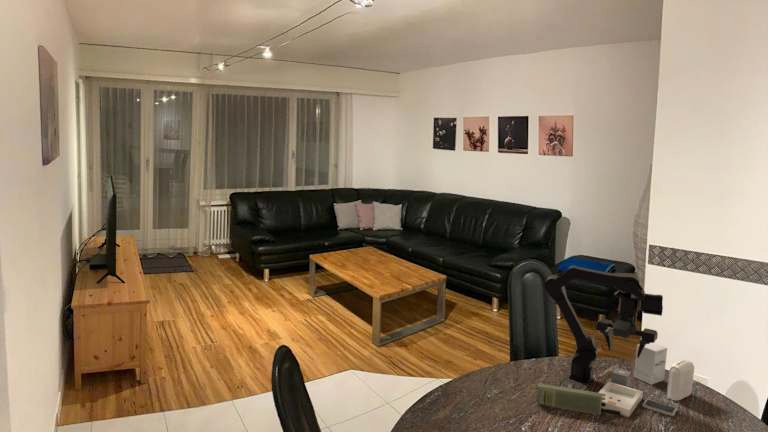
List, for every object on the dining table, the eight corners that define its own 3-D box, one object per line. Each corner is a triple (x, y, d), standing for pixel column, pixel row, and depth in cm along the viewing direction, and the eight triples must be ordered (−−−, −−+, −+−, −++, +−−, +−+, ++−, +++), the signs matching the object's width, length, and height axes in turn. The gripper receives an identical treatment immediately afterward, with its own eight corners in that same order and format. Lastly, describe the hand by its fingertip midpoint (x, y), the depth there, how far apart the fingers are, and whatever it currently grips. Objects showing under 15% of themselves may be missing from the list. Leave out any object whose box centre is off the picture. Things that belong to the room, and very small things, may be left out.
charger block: (610, 387, 180) (612, 372, 179) (615, 382, 184) (616, 367, 183) (625, 391, 177) (627, 376, 176) (629, 386, 181) (631, 371, 180)
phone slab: (673, 416, 161) (673, 414, 161) (642, 406, 167) (642, 404, 167) (676, 410, 165) (677, 407, 165) (646, 401, 171) (646, 398, 171)
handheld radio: (536, 400, 170) (619, 414, 162) (536, 405, 167) (620, 420, 159) (538, 381, 169) (621, 394, 161) (537, 386, 166) (622, 400, 158)
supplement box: (652, 385, 182) (655, 351, 180) (633, 377, 188) (636, 344, 187) (664, 380, 186) (668, 347, 184) (645, 372, 192) (648, 340, 190)
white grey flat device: (592, 405, 167) (593, 397, 167) (607, 388, 179) (608, 380, 179) (628, 417, 160) (629, 409, 160) (642, 398, 172) (642, 391, 172)
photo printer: (680, 389, 179) (683, 355, 178) (693, 394, 176) (697, 360, 174) (664, 397, 174) (668, 362, 172) (677, 402, 170) (681, 367, 168)
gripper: (592, 310, 177) (588, 353, 179) (652, 323, 165) (647, 369, 167) (602, 302, 185) (599, 344, 187) (660, 314, 174) (655, 358, 176)
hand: (623, 353), depth 179 cm, fingers open, 9 cm apart
